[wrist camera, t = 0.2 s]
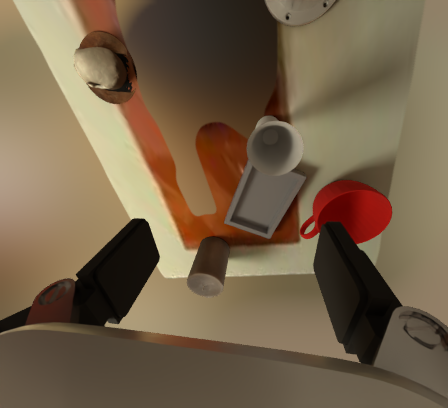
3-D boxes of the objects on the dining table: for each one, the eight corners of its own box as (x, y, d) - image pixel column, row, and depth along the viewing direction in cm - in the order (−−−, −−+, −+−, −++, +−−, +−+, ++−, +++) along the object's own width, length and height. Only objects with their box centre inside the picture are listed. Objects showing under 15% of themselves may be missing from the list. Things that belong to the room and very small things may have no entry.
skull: (88, 106, 42) (41, 63, 32) (103, 68, 44) (62, 16, 34) (137, 112, 40) (104, 68, 30) (150, 73, 42) (123, 20, 32)
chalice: (292, 126, 38) (316, 146, 23) (269, 152, 41) (276, 185, 26) (265, 102, 37) (271, 107, 21) (244, 131, 40) (236, 153, 25)
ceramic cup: (281, 201, 47) (286, 224, 39) (348, 158, 40) (373, 175, 31) (309, 233, 51) (319, 261, 42) (375, 199, 43) (405, 225, 35)
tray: (250, 153, 42) (250, 156, 40) (303, 172, 43) (306, 177, 40) (225, 216, 52) (224, 223, 50) (268, 231, 52) (269, 238, 50)
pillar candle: (195, 239, 58) (177, 280, 46) (223, 233, 55) (213, 276, 43) (207, 260, 63) (194, 303, 50) (234, 256, 60) (227, 301, 47)
